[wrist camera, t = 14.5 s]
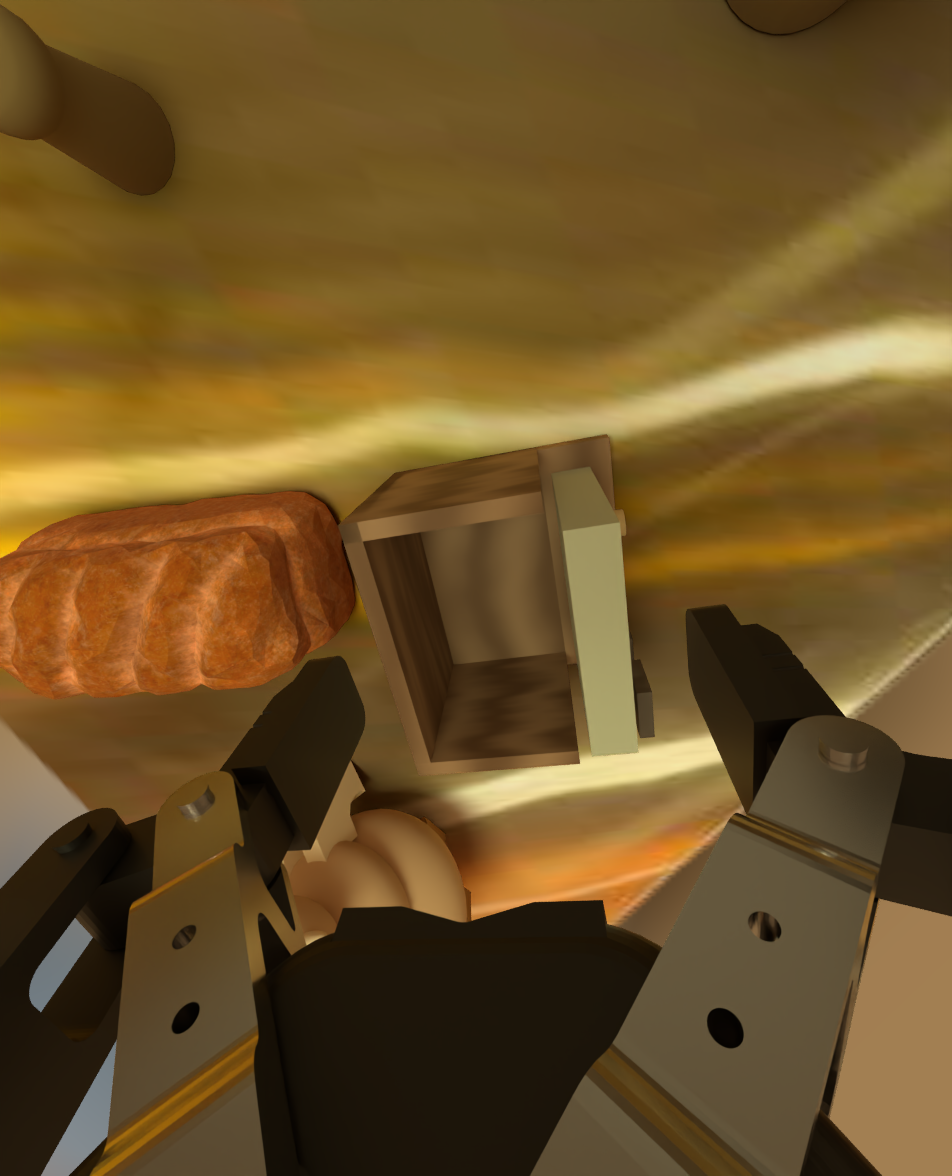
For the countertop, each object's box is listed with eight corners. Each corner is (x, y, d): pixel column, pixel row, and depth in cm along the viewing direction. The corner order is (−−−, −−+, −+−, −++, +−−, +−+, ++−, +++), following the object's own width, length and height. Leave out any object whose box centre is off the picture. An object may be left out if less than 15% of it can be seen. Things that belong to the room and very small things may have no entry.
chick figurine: (371, 1267, 27) (178, 1302, 35) (573, 982, 50) (427, 1044, 59) (224, 759, 39) (108, 875, 48) (441, 719, 63) (336, 802, 71)
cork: (146, 65, 32) (-24, -62, 22) (190, 179, 34) (54, 111, 25) (69, 98, 33) (-125, -8, 23) (117, 207, 36) (-41, 152, 26)
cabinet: (606, 434, 39) (644, 474, 26) (624, 649, 47) (659, 757, 35) (394, 473, 42) (337, 525, 29) (446, 669, 50) (418, 775, 37)
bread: (367, 619, 49) (302, 727, 35) (126, 637, 52) (-19, 741, 38) (331, 479, 43) (237, 540, 29) (63, 510, 47) (-135, 577, 33)
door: (605, 463, 39) (643, 518, 26) (620, 639, 45) (657, 751, 32) (551, 473, 39) (562, 531, 27) (574, 644, 46) (592, 756, 33)
